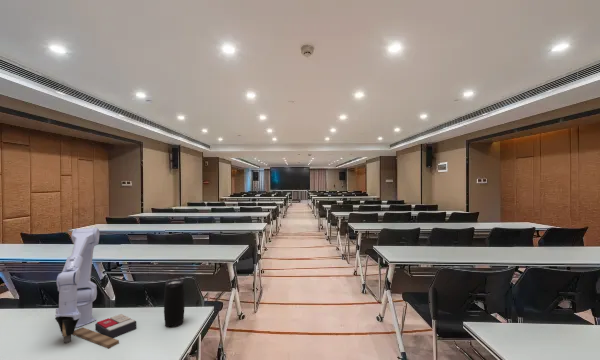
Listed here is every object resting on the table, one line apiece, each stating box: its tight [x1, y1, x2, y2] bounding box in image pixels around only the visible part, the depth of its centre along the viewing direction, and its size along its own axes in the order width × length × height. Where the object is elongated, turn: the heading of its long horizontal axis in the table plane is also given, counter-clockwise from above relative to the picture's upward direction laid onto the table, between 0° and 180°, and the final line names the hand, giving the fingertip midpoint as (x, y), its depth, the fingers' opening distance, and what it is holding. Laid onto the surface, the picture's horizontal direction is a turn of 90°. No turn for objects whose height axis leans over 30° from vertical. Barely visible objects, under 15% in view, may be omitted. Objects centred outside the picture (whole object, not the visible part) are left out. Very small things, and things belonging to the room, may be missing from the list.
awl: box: [61, 323, 72, 344], centre depth 113 cm, size 3×3×8 cm
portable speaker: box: [163, 278, 186, 328], centre depth 128 cm, size 9×9×20 cm
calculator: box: [94, 313, 137, 339], centre depth 123 cm, size 11×4×15 cm
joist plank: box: [72, 326, 120, 349], centre depth 115 cm, size 26×4×1 cm, turn 65°
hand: (67, 333), depth 113 cm, fingers closed on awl, 3 cm apart
